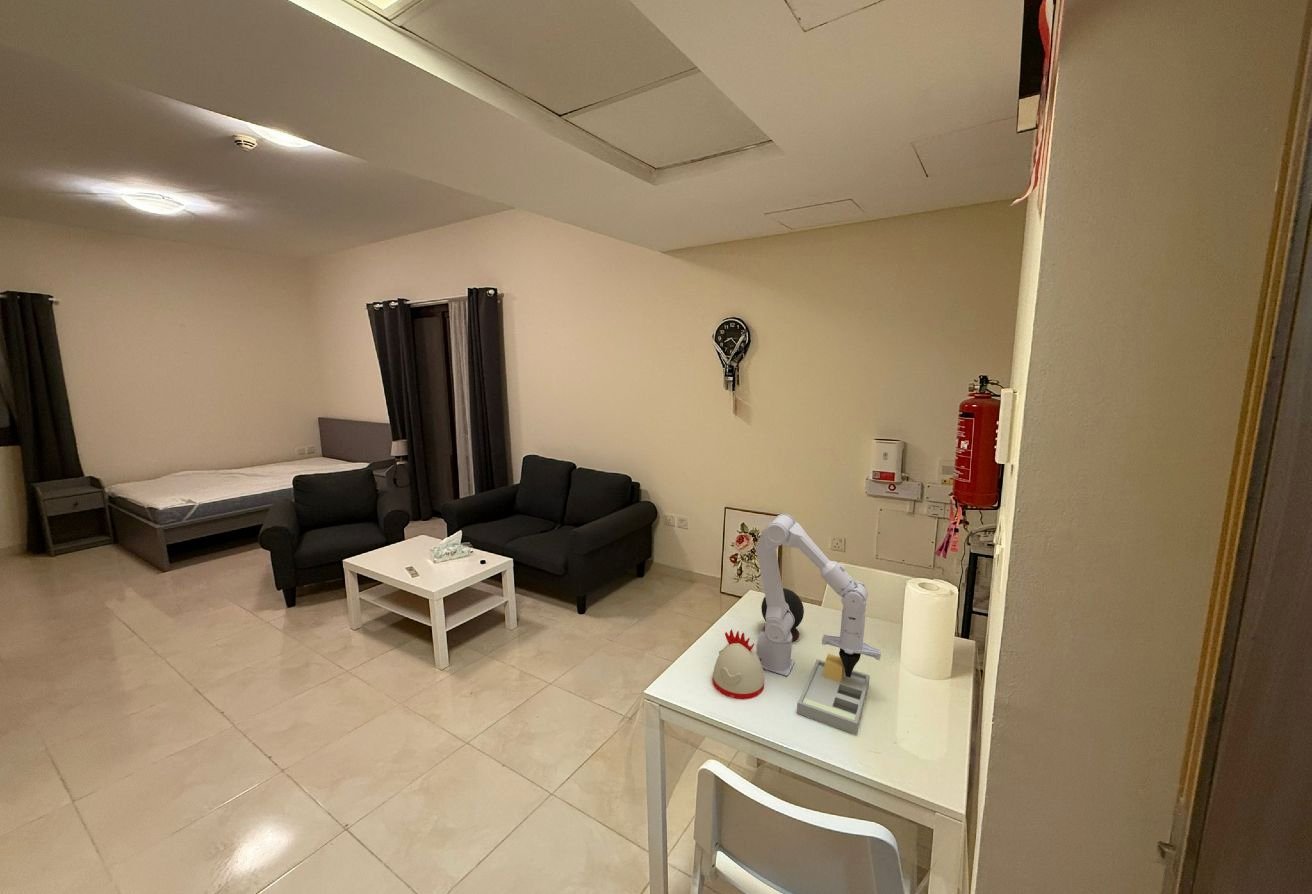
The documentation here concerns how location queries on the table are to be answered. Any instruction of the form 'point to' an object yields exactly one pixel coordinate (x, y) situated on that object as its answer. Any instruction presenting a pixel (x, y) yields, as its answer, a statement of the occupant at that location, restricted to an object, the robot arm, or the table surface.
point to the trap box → (834, 699)
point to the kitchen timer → (738, 669)
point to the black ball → (794, 607)
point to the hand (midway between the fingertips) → (848, 674)
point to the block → (834, 668)
